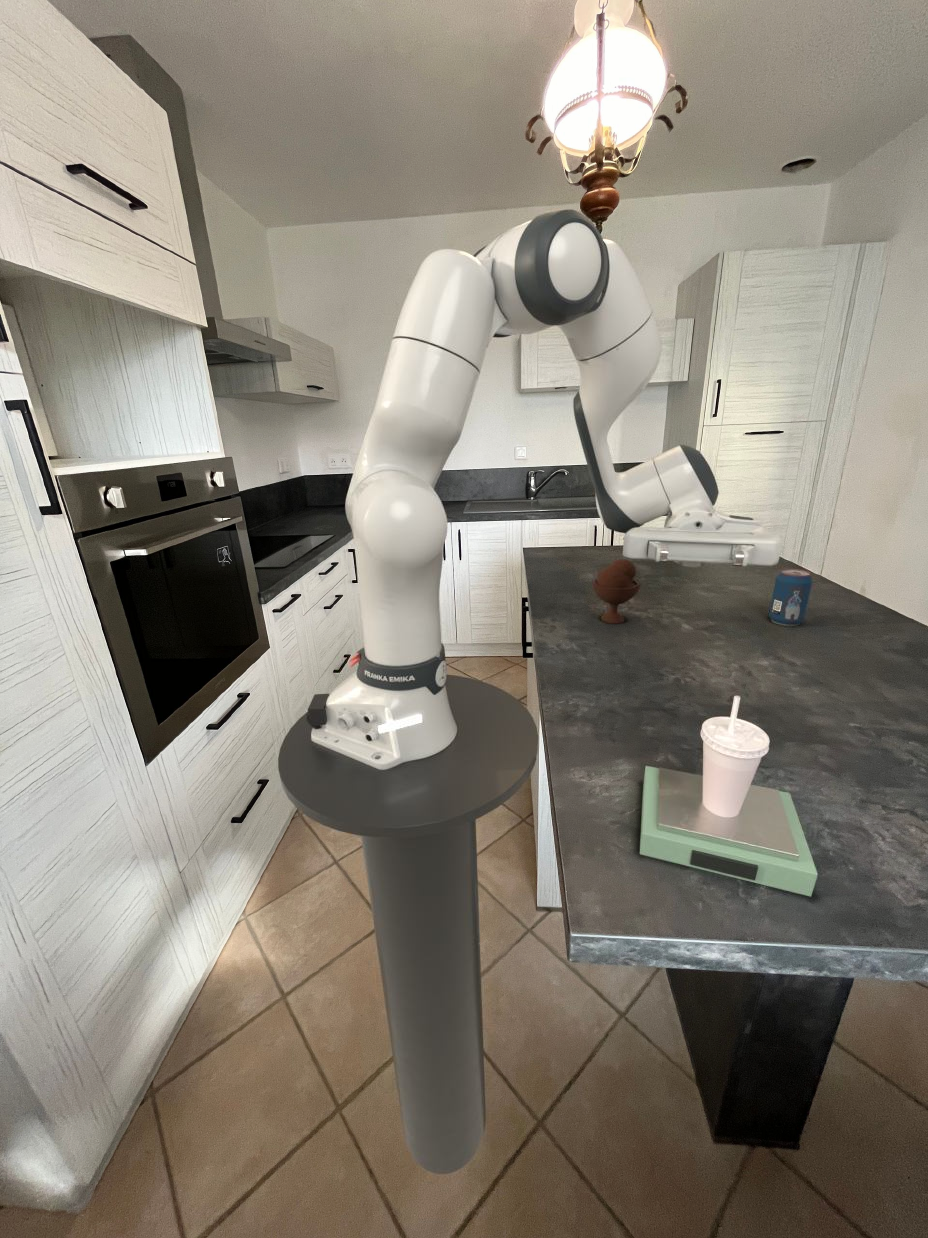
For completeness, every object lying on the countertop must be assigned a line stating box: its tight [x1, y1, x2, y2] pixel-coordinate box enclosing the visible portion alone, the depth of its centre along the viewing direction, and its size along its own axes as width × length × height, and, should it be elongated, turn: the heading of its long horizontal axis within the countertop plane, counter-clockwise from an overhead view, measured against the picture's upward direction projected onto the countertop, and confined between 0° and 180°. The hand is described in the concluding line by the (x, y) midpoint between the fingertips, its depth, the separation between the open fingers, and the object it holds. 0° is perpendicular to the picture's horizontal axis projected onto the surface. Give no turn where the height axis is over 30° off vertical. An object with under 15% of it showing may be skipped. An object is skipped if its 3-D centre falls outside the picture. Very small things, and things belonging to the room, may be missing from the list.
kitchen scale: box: [639, 765, 819, 898], centre depth 55 cm, size 16×12×3 cm
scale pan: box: [657, 766, 799, 861], centre depth 55 cm, size 13×10×1 cm
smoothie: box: [700, 695, 771, 818], centre depth 52 cm, size 6×6×14 cm
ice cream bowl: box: [591, 558, 641, 624], centre depth 116 cm, size 11×11×15 cm
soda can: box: [768, 568, 813, 627], centre depth 112 cm, size 7×7×12 cm
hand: (700, 558), depth 64 cm, fingers open, 8 cm apart
